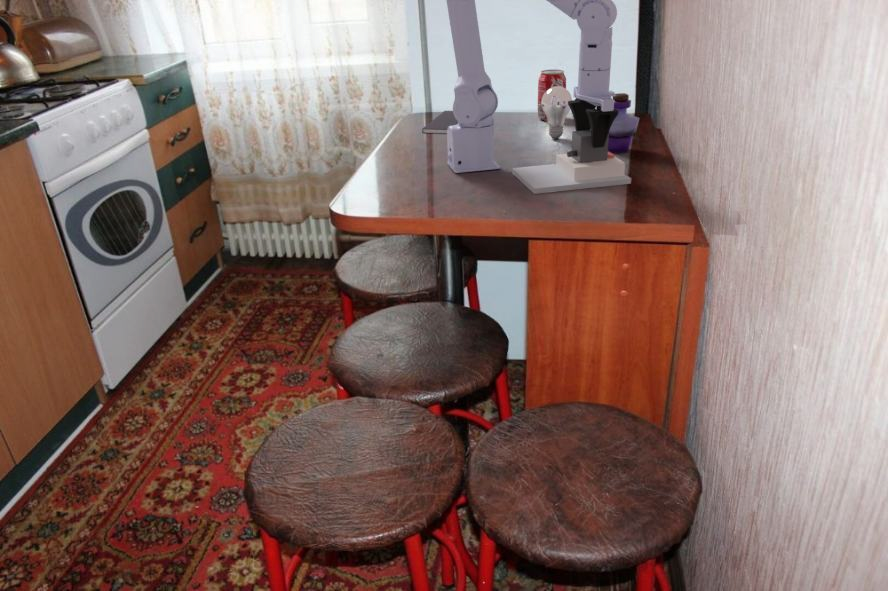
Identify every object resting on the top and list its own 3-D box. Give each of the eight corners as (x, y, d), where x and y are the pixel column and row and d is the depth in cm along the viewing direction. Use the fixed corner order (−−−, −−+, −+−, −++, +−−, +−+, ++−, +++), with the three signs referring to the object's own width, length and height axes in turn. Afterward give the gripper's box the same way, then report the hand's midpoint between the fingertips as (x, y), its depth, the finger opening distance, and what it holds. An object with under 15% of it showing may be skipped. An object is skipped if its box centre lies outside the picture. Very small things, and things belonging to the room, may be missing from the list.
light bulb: (576, 140, 166) (578, 86, 160) (549, 144, 163) (551, 90, 158) (561, 134, 171) (562, 82, 166) (535, 137, 169) (536, 85, 164)
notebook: (444, 116, 197) (422, 134, 178) (444, 110, 196) (422, 128, 178) (490, 117, 194) (472, 136, 175) (490, 111, 193) (472, 129, 175)
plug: (563, 163, 141) (564, 132, 138) (597, 160, 142) (599, 129, 139) (571, 169, 137) (572, 137, 134) (606, 166, 138) (608, 134, 135)
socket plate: (555, 166, 143) (556, 151, 142) (603, 162, 145) (603, 146, 144) (574, 180, 135) (574, 164, 133) (624, 175, 136) (625, 159, 135)
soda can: (569, 117, 187) (571, 69, 182) (558, 123, 182) (559, 74, 176) (544, 115, 191) (545, 68, 185) (532, 120, 185) (533, 72, 180)
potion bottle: (645, 149, 156) (650, 93, 151) (620, 157, 151) (624, 99, 146) (614, 143, 162) (617, 88, 157) (588, 150, 157) (591, 94, 152)
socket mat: (534, 193, 132) (534, 188, 131) (512, 173, 144) (512, 168, 144) (630, 183, 135) (631, 178, 135) (601, 164, 147) (601, 159, 147)
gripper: (632, 73, 126) (626, 149, 132) (599, 61, 138) (595, 131, 144) (594, 75, 124) (589, 153, 130) (564, 64, 137) (561, 134, 143)
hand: (590, 142), depth 137 cm, fingers open, 7 cm apart
